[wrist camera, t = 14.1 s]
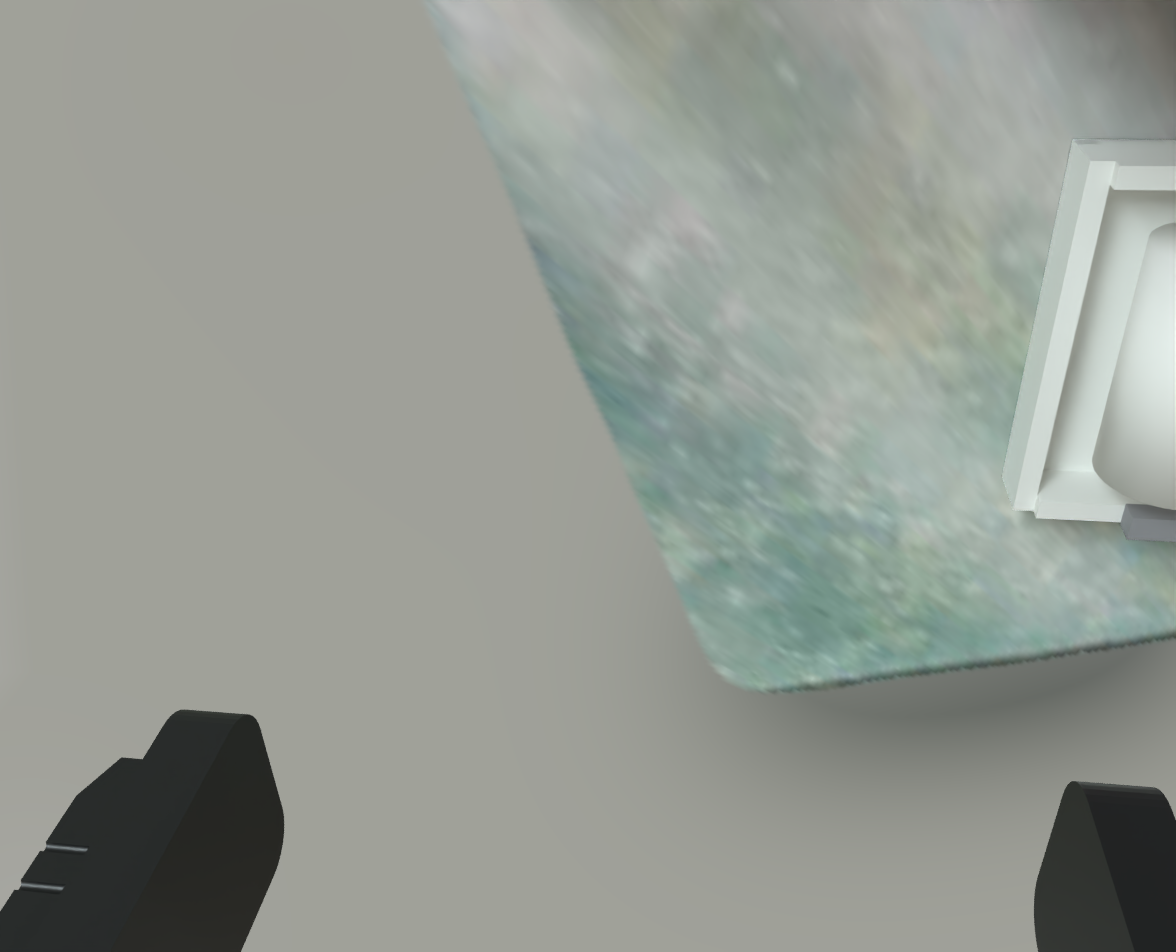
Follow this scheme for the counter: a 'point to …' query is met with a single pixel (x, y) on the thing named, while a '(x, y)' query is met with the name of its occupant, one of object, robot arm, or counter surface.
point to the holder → (1088, 333)
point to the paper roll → (1145, 386)
